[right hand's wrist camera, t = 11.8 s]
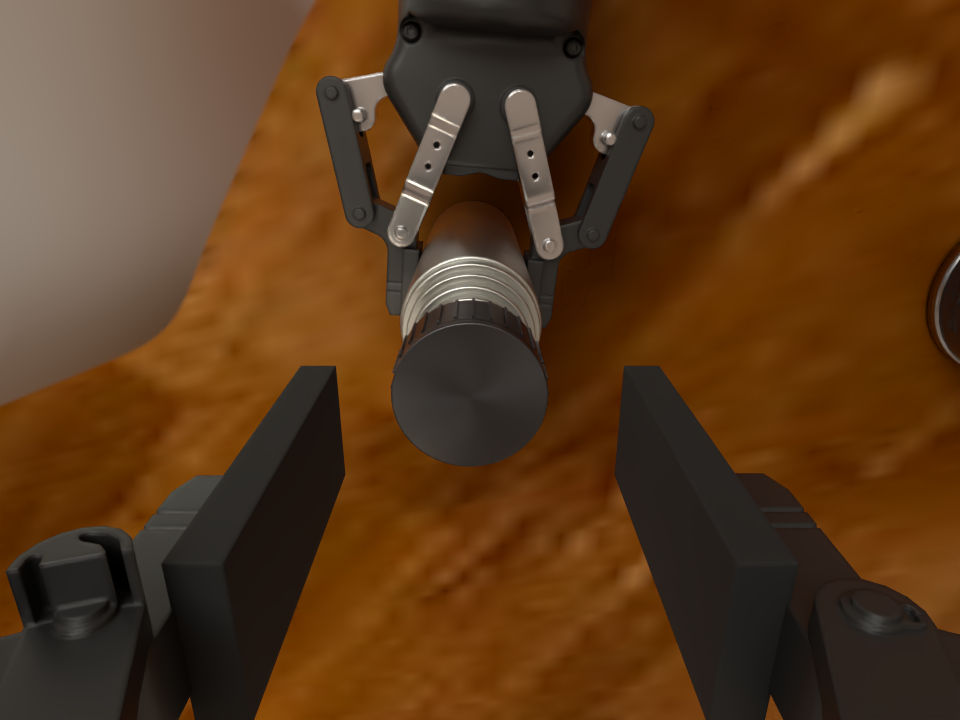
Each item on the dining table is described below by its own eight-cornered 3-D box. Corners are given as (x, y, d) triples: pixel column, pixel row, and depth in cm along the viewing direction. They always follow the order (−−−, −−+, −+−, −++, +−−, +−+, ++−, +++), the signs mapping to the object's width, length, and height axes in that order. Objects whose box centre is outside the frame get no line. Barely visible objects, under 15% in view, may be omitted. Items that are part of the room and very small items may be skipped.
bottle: (483, 303, 36) (491, 502, 18) (412, 255, 35) (341, 412, 17) (533, 234, 35) (601, 369, 16) (461, 182, 34) (444, 263, 15)
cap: (487, 454, 19) (489, 494, 17) (371, 383, 18) (358, 416, 16) (570, 349, 18) (583, 379, 16) (450, 268, 17) (447, 288, 15)
